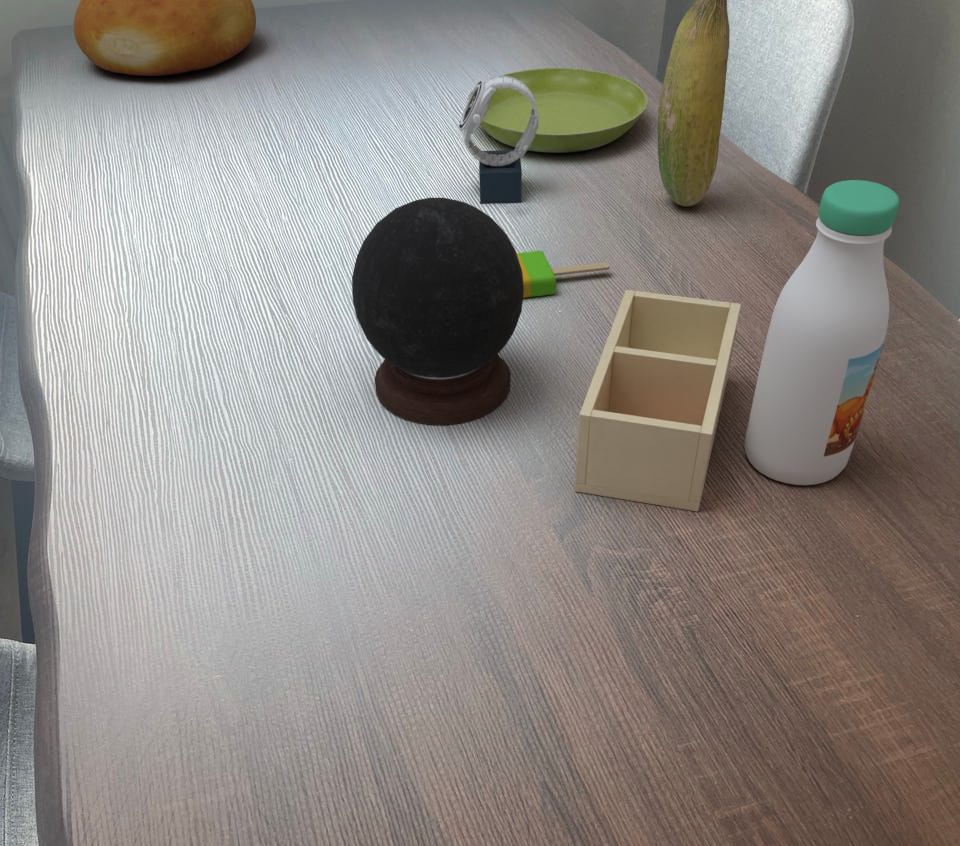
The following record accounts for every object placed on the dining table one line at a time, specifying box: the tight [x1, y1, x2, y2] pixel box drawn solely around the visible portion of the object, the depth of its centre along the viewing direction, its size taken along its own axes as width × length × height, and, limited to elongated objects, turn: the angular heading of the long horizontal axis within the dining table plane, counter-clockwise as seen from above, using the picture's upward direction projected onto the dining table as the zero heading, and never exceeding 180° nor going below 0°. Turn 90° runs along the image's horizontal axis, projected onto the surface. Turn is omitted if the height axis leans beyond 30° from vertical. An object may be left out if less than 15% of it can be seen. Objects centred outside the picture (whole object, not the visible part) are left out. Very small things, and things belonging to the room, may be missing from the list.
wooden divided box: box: [574, 289, 742, 513], centre depth 77 cm, size 9×17×7 cm, turn 164°
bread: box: [73, 0, 257, 77], centre depth 135 cm, size 23×23×10 cm
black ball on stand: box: [351, 197, 524, 426], centre depth 79 cm, size 13×13×15 cm
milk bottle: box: [744, 179, 900, 486], centre depth 70 cm, size 8×8×20 cm
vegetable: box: [657, 0, 731, 207], centre depth 98 cm, size 6×6×20 cm
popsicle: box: [516, 250, 611, 299], centre depth 95 cm, size 6×15×2 cm, turn 101°
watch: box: [458, 75, 539, 204], centre depth 105 cm, size 6×8×11 cm
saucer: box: [466, 67, 648, 154], centre depth 119 cm, size 21×21×3 cm
